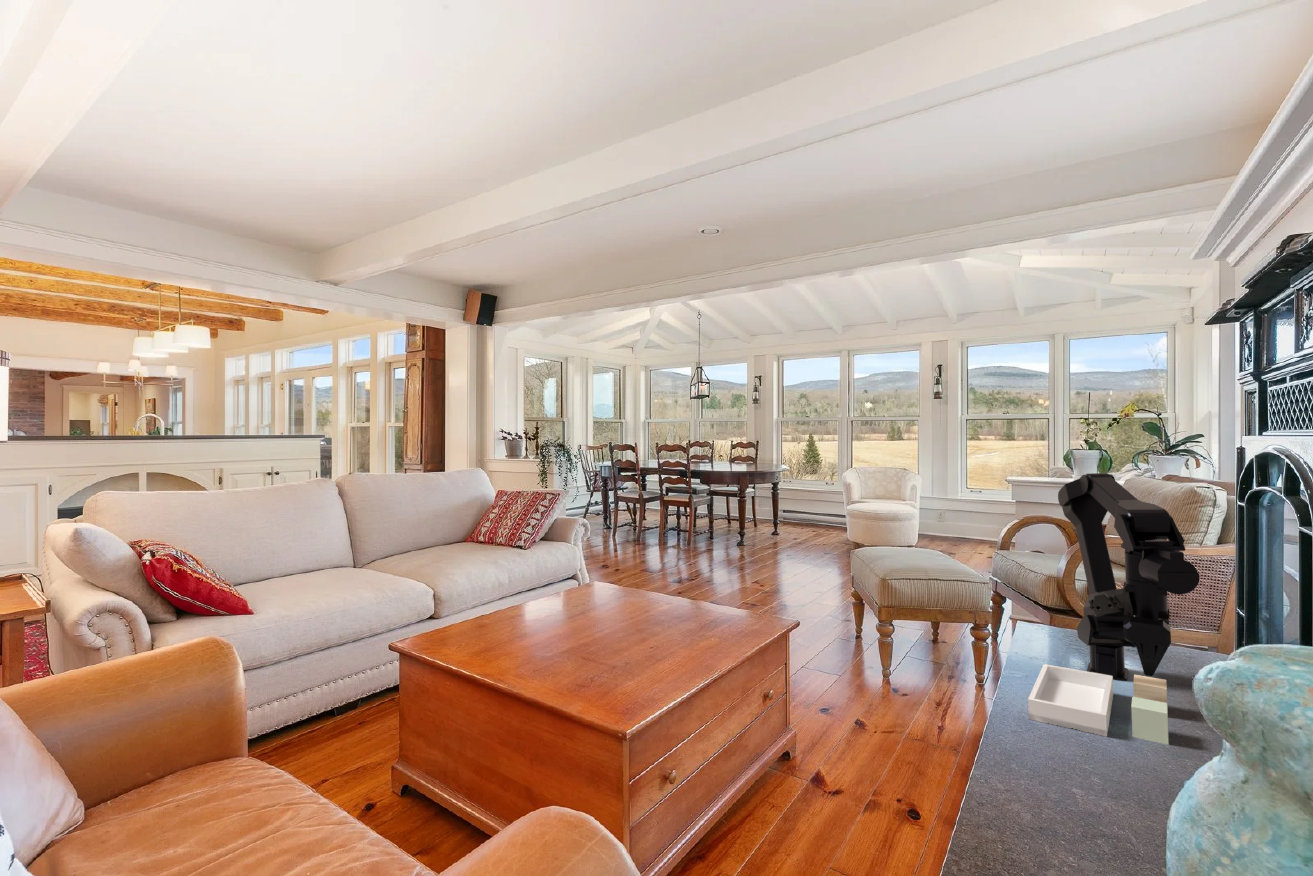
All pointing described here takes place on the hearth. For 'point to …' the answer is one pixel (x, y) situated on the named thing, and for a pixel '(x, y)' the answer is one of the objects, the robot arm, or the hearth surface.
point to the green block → (1149, 720)
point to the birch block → (1150, 688)
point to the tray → (1072, 699)
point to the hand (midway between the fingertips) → (1148, 666)
